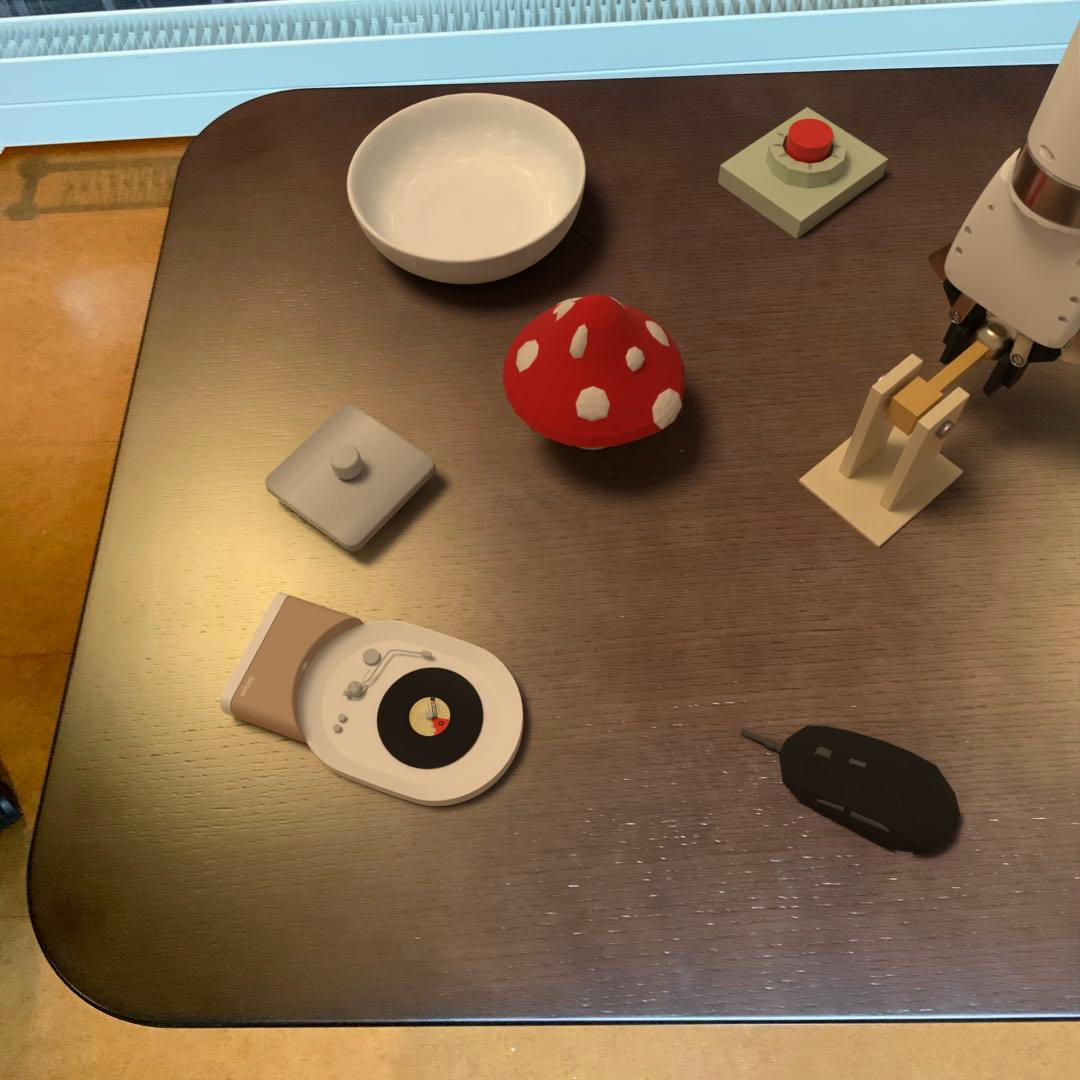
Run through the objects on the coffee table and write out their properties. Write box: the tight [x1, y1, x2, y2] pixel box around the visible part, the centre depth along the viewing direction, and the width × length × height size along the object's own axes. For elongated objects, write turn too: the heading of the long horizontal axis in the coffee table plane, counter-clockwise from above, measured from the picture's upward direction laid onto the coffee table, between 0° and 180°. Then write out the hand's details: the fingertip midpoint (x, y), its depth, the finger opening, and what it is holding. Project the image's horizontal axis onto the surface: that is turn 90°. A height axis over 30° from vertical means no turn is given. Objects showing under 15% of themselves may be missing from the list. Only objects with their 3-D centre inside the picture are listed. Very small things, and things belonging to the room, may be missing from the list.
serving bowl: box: [346, 92, 587, 285], centre depth 94 cm, size 21×21×7 cm
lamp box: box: [717, 106, 889, 240], centre depth 97 cm, size 12×10×4 cm
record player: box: [219, 591, 524, 807], centre depth 73 cm, size 12×3×20 cm
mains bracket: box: [798, 353, 971, 549], centre depth 77 cm, size 10×8×12 cm
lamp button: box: [785, 118, 833, 164], centre depth 95 cm, size 4×4×2 cm
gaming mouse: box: [740, 724, 961, 856], centre depth 69 cm, size 6×15×4 cm, turn 62°
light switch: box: [264, 404, 437, 552], centre depth 81 cm, size 10×10×5 cm
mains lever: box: [884, 315, 1018, 436], centre depth 75 cm, size 12×3×3 cm, turn 131°
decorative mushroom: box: [502, 293, 686, 451], centre depth 79 cm, size 14×14×15 cm
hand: (976, 367), depth 79 cm, fingers closed on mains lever, 3 cm apart
